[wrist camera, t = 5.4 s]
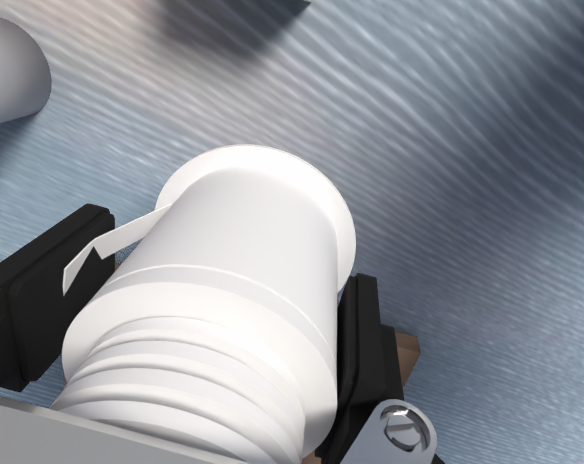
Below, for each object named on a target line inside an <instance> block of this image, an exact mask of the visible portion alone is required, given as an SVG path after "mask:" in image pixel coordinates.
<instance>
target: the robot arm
mask: <svg viewBox="0 0 584 464" xmlns="http://www.w3.org/2000/svg"><path fill="white" fill-rule="evenodd" d="M114 229H115V218H114V215H112V214H110V211H109V209H107V208H105V207H101V206H97V205H93V204H85V205H84V206H82V207H81V208H79V209H78V210H76V211H75V212H74V213H72V214H71V215H69V216H68V217H66V218H65V219H63V220H62V221H60V222H59V223H57V224H56V225H55V226H53V227H52V228H50V229H49V230H47V231H46V232H44V233H43V234H41V235H40V236H38V237H37V238H35V239H34V240H33V241H31V242H30V243H28V244H27V245H25V246H24V247H22V248H21V249H19V250H18V251H16V252H15V253H14V254H12V255H11V256H9V257H8V258H6V259H5V260H3V261H2V262H0V387H2V388H6V389H9V390H13V391H17V392H21V391H22V390H23V389H24V388H25V387H26V386H27V385H28V383H29V382H30V381H36V380H38V379H39V378H40V377H41V376H42V375H43V374H44V372H45V371H46V370H47V369H48V368H49V367H50V366H51V364H52V363H53V362H54V361H55V360H56V359H57V358H58V356H59V355H60V354H61V353H62V347H63V342H64V338H65V335H66V332H67V330H68V328H69V326H70V325H71V323H72V321H73V320H74V319H75V317H76V316H77V315H78V314H79V313H80V311H81V310H82V309H83V308H84V307H85V306H86V305H87V303H88V302H89V301H90V300H91V299H92V298H93V297H94V295H95V294H96V293H97V292H98V291H99V290H100V288H101V287H102V286H103V285H104V284H105V283H106V282H107V280H108V279H109V278H110V277H111V276H112V275H113V273H114V272H115V253H113V254H111V255H109V256H107V257H106V258H104V259H101V257H100V256H99V254H98V252H97V250H96V249H95V247H94V246H93V248H92V249H91V251H90V253H89V254H88V256H87V258H86V259H85V261H84V263H83V265H82V266H81V268H80V270H79V271H78V273H77V275H76V276H75V278H74V280H73V281H72V283H71V285H70V287H69V288H68V290H67V292H66V293H65V295H64V294H63V277H64V268H65V267H66V266H67V265H68V264H69V263H70V262H71V261H72V260H73V259H74V258H75V257H76V256H77V255H78V254H79V253H80V252H81V251H82V250H83V249H84V248H85V247H86V246H87V245H88V244H89V243H90V242H91V241H92V240H94V239H95V238H97V237H99V236H101V235H103V234H105V233H108V232H110V231H112V230H114ZM437 442H438V440H437V435H436V431H435V429H434V427H433V425H432V423H431V421H430V420H429V419H428V418H427V416H426V415H425V414H424V413H423V412H422V411H420V410H419V409H418V408H417V407H415V406H413V405H412V404H410V403H408V402H405V401H404V396H403V388H402V381H401V373H400V366H399V358H398V351H397V343H396V336H395V330H394V328H393V327H389V326H386V325H382V324H380V313H379V302H378V290H377V279H376V277H372V276H368V275H364V274H361V273H357V274H356V276H355V277H353V276H349V277H348V280H347V283H346V286H345V288H344V291H343V294H342V297H341V300H340V303H339V306H338V308H337V410H336V416H335V420H334V423H333V425H332V428H331V430H330V432H329V433H328V435H327V436H326V438H325V439H324V440H323V442H322V443H321V444H320V445H319V446H318V447H317V448H316V449H315V453H314V454H315V457H318V458H321V464H445V463H444V462H443V461H442V460H441V459H440V458H439V457H438V456H437V455H436V454H435V452H436V448H437ZM0 464H251V463H247V462H244V461H240V460H236V459H233V458H229V457H225V456H222V455H218V454H214V453H211V452H207V451H203V450H200V449H196V448H192V447H189V446H185V445H182V444H178V443H174V442H171V441H167V440H163V439H160V438H156V437H152V436H148V435H145V434H141V433H137V432H133V431H130V430H126V429H122V428H119V427H115V426H111V425H107V424H104V423H100V422H96V421H93V420H89V419H85V418H81V417H78V416H74V415H70V414H66V413H63V412H59V411H55V410H51V409H48V408H44V407H40V406H36V405H32V404H29V403H25V402H21V401H17V400H13V399H9V398H6V397H2V396H0Z"/></svg>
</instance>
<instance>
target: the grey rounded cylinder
mask: <svg viewBox="0 0 584 464" xmlns="http://www.w3.org/2000/svg"><path fill="white" fill-rule="evenodd" d="M50 93H51V73H50V69H49V66H48V63H47V60H46V58H45V56H44V54H43V52H42V50H41V49H40V47H39V46H38V44H37V43H36V42H35V41H34V39H33V38H32V37H31V36H30V35H29V34H28V33H27V32H26V31H24V30H23V29H22V28H21V27H19V26H18V25H16V24H14V23H12V22H10V21H8V20H6V19H2V18H0V123H3V122H6V121H10V120H14V119H17V118H21V117H24V116H28V115H32V114H34V113H36V112H38V111H39V110H41V109H42V108H43V107H44V106H45V104H46V103H47V101H48V99H49V96H50Z"/></svg>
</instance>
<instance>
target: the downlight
mask: <svg viewBox="0 0 584 464" xmlns="http://www.w3.org/2000/svg"><path fill="white" fill-rule="evenodd" d="M142 238H144V239H143V240H142V241H141V242H140V243H139V244H138V246H137V247H136V248H135V249H134V250H133V251H132V253H131V254H130V255H129V256H128V257H127V258H126V259H125V261H124V262H123V263H122V264H121V265H120V266H119V268H118V269H117V270H116V271H115V272H114V273H113V275H112V276H111V277H110V278H109V279H108V280H107V282H106V283H105V284H104V285H103V286H102V287H101V288H100V290H99V291H98V292H97V293H96V294H95V295H94V297H93V298H92V299H91V300H90V301H89V302H88V303H87V305H86V306H85V307H84V308H83V309H82V310H81V311H80V313H79V314H78V315H77V316H76V317H75V319H74V320H73V321H72V323H71V325H70V326H69V328H68V330H67V332H66V335H65V338H64V342H63V347H62V364H63V370H64V374H65V378H66V381H67V384H66V386H65V388H64V389H63V391H62V392H61V393H60V394H59V396H58V397H57V398H56V399H55V401H54V402H53V403H52V405H51V406H50V407H49V409H51V410H55V411H59V412H63V413H66V414H70V415H74V416H78V417H81V418H85V419H89V420H93V421H96V422H100V423H104V424H107V425H111V426H115V427H119V428H122V429H126V430H130V431H133V432H137V433H141V434H145V435H148V436H152V437H156V438H160V439H163V440H167V441H171V442H174V443H178V444H182V445H185V446H189V447H192V448H196V449H200V450H203V451H207V452H211V453H214V454H218V455H222V456H225V457H229V458H233V459H236V460H240V461H244V462H247V463H251V464H301V463H302V459H303V458H304V457H306V456H307V455H309V454H310V453H311V452H313V451H314V450H315V449H316V448H317V447H318V446H319V445H320V444H321V443H322V442H323V440H324V439H325V438H326V436H327V435H328V433H329V432H330V430H331V428H332V425H333V423H334V420H335V416H336V410H337V294H338V292H339V291H340V290H341V289H342V287H343V286H344V284H345V282H346V281H347V279H348V277H349V275H350V273H351V270H352V267H353V263H354V259H355V252H356V236H355V228H354V223H353V219H352V216H351V214H350V211H349V208H348V206H347V204H346V202H345V200H344V199H343V197H342V196H341V194H340V192H339V191H338V190H337V189H336V187H335V186H334V185H333V183H332V182H331V181H330V180H329V179H328V178H327V177H326V176H325V175H324V174H322V173H321V172H320V171H319V170H318V169H316V168H315V167H314V166H312V165H311V164H309V163H308V162H306V161H304V160H302V159H301V158H299V157H297V156H295V155H292V154H290V153H288V152H285V151H282V150H279V149H276V148H272V147H267V146H261V145H250V144H239V145H229V146H223V147H219V148H215V149H212V150H209V151H206V152H204V153H202V154H200V155H198V156H196V157H194V158H192V159H191V160H189V161H188V162H186V163H185V164H184V165H183V166H181V167H180V168H179V169H178V170H177V171H176V172H175V173H174V174H173V175H172V176H171V177H170V179H169V180H168V181H167V183H166V184H165V186H164V187H163V189H162V191H161V193H160V195H159V197H158V200H157V203H156V206H155V210H154V211H153V212H151V213H149V214H147V215H145V216H142V217H140V218H138V219H136V220H134V221H131V222H129V223H127V224H125V225H123V226H121V227H118V228H116V229H114V230H112V231H110V232H108V233H105V234H103V235H101V236H99V237H97V238H95V239H94V240H92V241H91V242H90V243H89V244H88V245H87V246H86V247H85V248H84V249H83V250H82V251H81V252H80V253H79V254H78V255H77V256H76V257H75V258H74V259H73V260H72V261H71V262H70V263H69V264H68V265H67V266H66V267H65V268H64V277H63V294H64V295H65V293H66V292H67V290H68V288H69V287H70V285H71V283H72V281H73V280H74V278H75V276H76V275H77V273H78V271H79V270H80V268H81V266H82V265H83V263H84V261H85V259H86V258H87V256H88V254H89V253H90V251H91V249H92V248H93V246H94V247H95V249H96V250H97V252H98V254H99V256H100V257H101V259H104V258H106V257H107V256H109V255H111V254H113V253H115V252H117V251H119V250H121V249H123V248H125V247H126V246H128V245H130V244H132V243H134V242H136V241H138V240H140V239H142Z"/></svg>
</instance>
